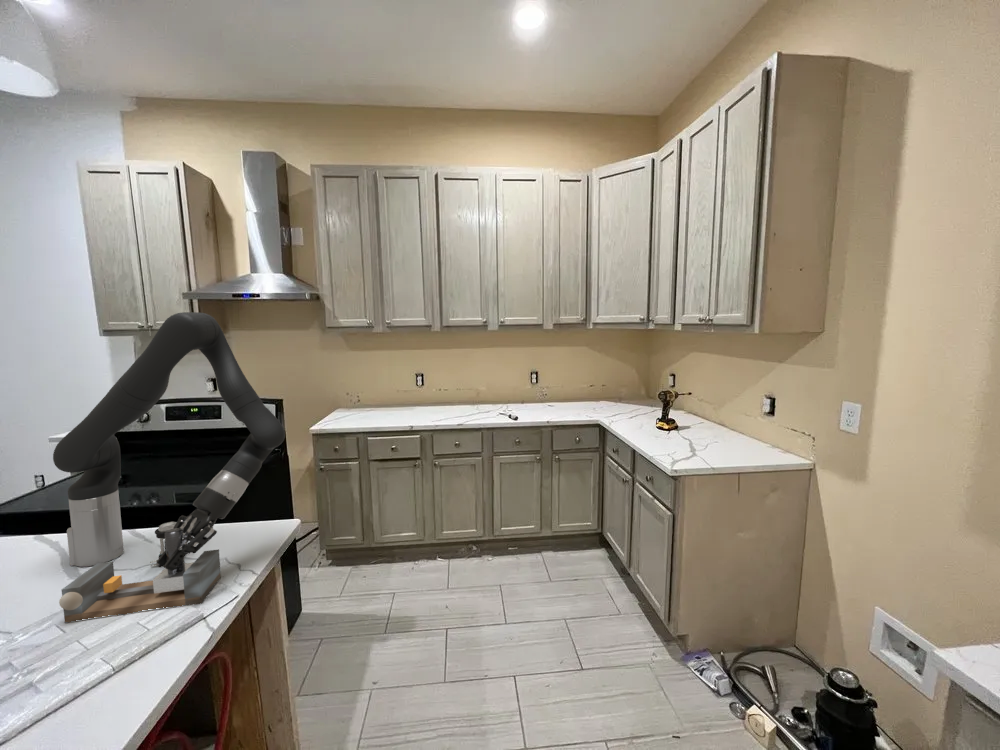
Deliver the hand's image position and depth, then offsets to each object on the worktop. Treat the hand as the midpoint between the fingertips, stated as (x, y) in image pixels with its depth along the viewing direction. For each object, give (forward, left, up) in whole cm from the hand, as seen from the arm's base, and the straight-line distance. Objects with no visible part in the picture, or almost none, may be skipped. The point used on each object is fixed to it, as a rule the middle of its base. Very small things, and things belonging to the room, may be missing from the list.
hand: (164, 566), depth 90 cm
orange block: (-10, +1, -4) cm, 11 cm away
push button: (-8, +17, -8) cm, 21 cm away
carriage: (+1, +1, -5) cm, 5 cm away
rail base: (-4, +1, -7) cm, 9 cm away
